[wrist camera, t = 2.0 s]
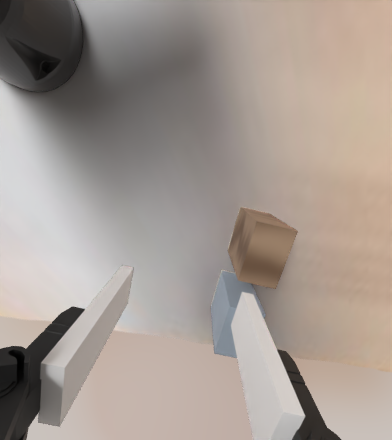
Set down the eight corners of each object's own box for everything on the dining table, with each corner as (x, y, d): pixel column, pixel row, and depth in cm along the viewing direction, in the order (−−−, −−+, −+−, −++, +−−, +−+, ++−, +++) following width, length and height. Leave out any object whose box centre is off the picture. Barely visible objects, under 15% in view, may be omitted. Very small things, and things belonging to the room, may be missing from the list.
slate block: (221, 269, 36) (229, 306, 26) (247, 275, 36) (265, 314, 26) (210, 306, 37) (214, 353, 28) (235, 311, 38) (248, 360, 28)
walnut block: (240, 206, 33) (257, 221, 23) (269, 213, 33) (297, 231, 23) (227, 249, 35) (238, 280, 25) (254, 255, 35) (275, 289, 25)
